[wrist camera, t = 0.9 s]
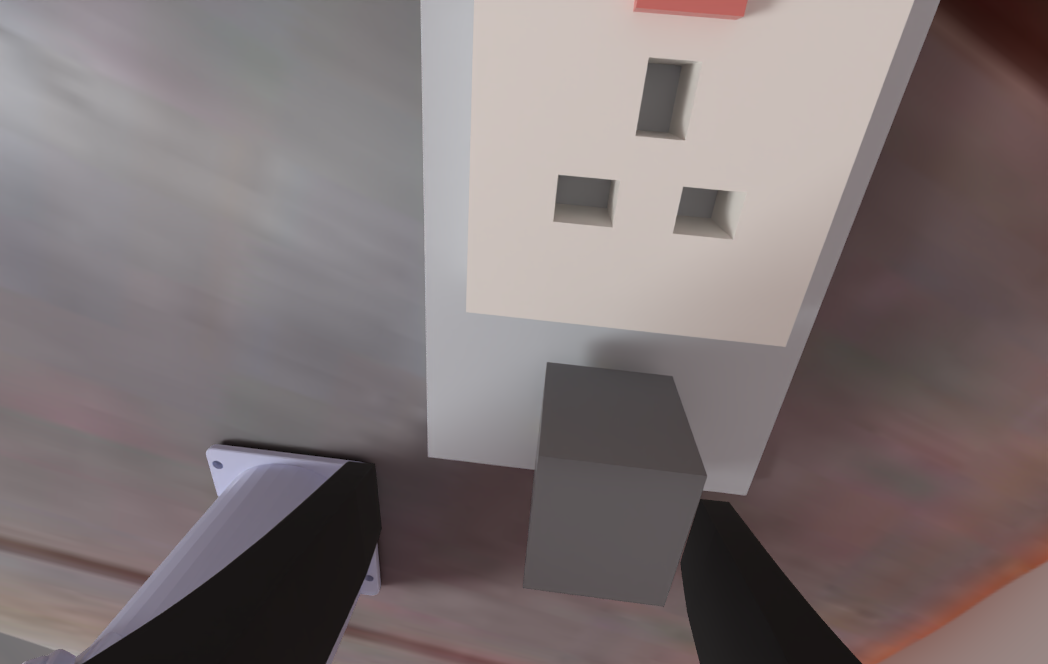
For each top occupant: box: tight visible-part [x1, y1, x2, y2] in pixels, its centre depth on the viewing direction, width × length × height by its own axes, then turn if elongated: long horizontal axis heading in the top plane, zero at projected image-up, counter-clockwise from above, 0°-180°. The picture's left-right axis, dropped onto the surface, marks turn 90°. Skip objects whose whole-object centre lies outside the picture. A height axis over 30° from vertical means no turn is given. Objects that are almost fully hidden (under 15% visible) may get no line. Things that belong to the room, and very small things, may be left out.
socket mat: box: [421, 0, 940, 496], centre depth 17 cm, size 19×14×1 cm
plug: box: [523, 362, 707, 607], centre depth 17 cm, size 4×7×6 cm, turn 175°
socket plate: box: [466, 0, 914, 347], centre depth 14 cm, size 10×10×3 cm
